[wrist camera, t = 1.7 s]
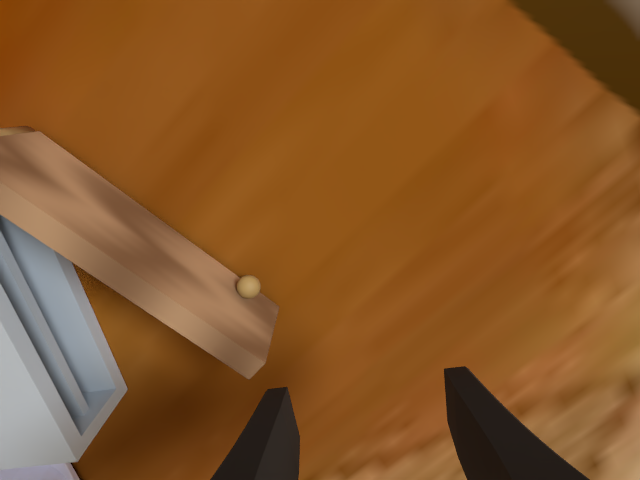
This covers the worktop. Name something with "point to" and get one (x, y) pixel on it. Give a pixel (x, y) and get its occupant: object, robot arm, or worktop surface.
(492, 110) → the worktop surface
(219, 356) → the door
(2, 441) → the cabinet
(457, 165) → the worktop surface
